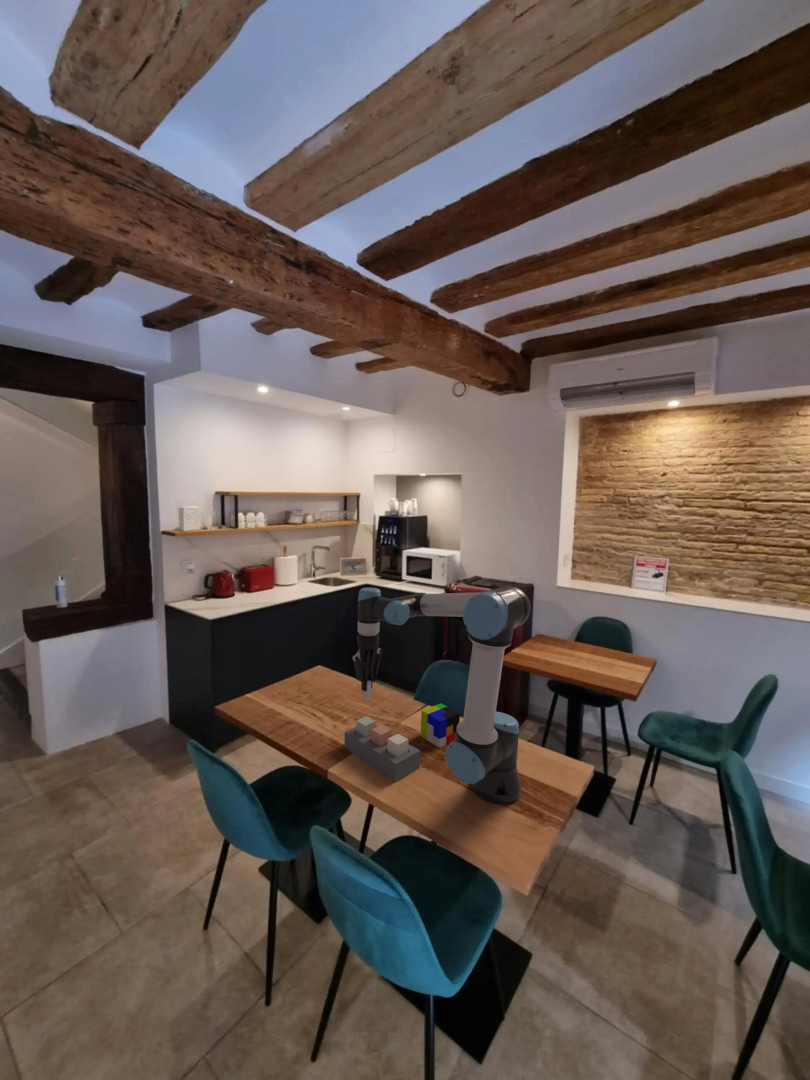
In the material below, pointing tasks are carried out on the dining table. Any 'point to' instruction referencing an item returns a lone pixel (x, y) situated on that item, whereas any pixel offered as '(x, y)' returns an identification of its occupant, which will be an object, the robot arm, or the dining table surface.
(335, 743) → the dining table surface
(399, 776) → the console
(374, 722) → the key sage
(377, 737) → the key terracotta
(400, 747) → the key ivory
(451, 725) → the puzzle toy
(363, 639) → the robot arm
